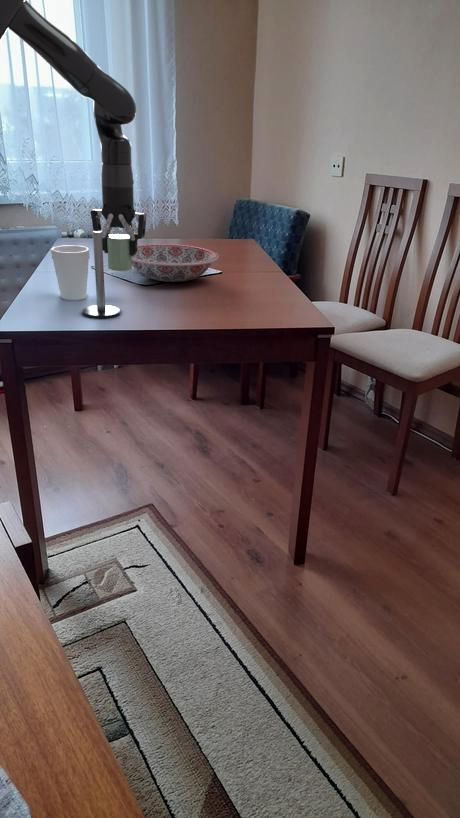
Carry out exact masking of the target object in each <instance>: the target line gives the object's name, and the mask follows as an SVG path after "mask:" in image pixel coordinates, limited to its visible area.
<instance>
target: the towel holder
mask: <svg viewBox="0 0 460 818" xmlns="http://www.w3.org/2000/svg"><path fill="white" fill-rule="evenodd" d="M92 240H93V258H94V275H95V292H96V295H95V297H96V304H95V305H90V306H86V307H84V308H83V309H82V315H83V316H84V317H85V318H88V319H92V320H110V319H115V318H117V317H119V316H120V315H121V309H120V308H119V307H117V306H114V305H109V304H106V292H105V291H106V290H105V272H104V270H105V269H104V251H103V248H102V232H101V231H93V230H92Z"/></svg>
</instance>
